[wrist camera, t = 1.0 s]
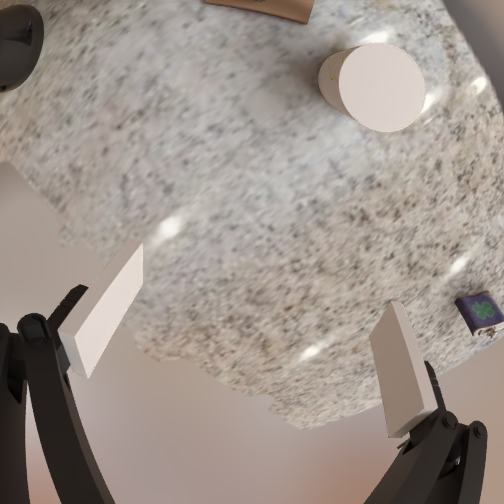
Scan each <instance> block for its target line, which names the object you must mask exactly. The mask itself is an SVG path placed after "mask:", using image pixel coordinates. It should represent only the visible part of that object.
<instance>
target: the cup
mask: <svg viewBox="0 0 504 504" xmlns="http://www.w3.org/2000/svg"><path fill="white" fill-rule="evenodd" d="M318 84H319V88H320V91H321V93H322V95H323V97H324V98H325V100H326V101H327V102H328V103H329V104H330V105H331V106H333V107H334V108H336V109H338V110H339V111H341V112H343V113H344V114H346V115H348V116H349V117H351V118H352V119H354V120H356V121H357V122H359V123H360V124H362V125H363V126H365V127H367V128H369V129H372V130H375V131H379V132H394V131H398V130H401V129H403V128H405V127H407V126H409V125H410V124H411V123H412V122H413V121H414V120H415V119H416V118H417V117H418V116H419V114H420V112H421V110H422V108H423V105H424V102H425V94H426V89H425V82H424V78H423V75H422V73H421V71H420V69H419V67H418V65H417V64H416V63H415V61H414V60H413V59H412V58H411V57H410V56H409V55H408V54H407V53H406V52H404V51H403V50H401V49H399V48H397V47H395V46H393V45H390V44H386V43H369V44H365V45H362V46H358V47H354V48H351V49H347V50H343V51H340V52H337V53H334V54H332V55H331V56H329V57H328V58H327V59H326V60H325V61H324V62H323V64H322V66H321V68H320V70H319V75H318Z"/></svg>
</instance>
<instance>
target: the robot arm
mask: <svg viewBox="0 0 504 504" xmlns="http://www.w3.org/2000/svg"><path fill="white" fill-rule="evenodd" d="M43 37H44V26H43V20H42V17H41V15H40V13H39V12H38V10H37V9H36V8H34V7H33V6H30V5H14V6H10V7H8V8H5V9H2V10H0V93H2V92H6V91H10V90H13V89H15V88H17V87H19V86H20V85H21V84H22V83H23V82H24V81H25V80H26V79H27V78H28V77H29V75H30V74H31V72H32V71H33V69H34V67H35V65H36V63H37V61H38V58H39V55H40V52H41V49H42V44H43ZM142 285H143V242H142V241H138V240H134V239H130V238H129V240H128V241H127V242H126V243H125V244H124V245H123V247H122V248H121V249H120V250H119V251H118V252H117V254H116V255H115V256H114V257H113V258H112V260H111V261H110V262H109V263H108V264H107V266H106V267H105V268H104V269H103V271H102V272H101V273H100V274H99V276H98V277H97V278H96V279H95V281H94V282H93V283H92V284H91V286H90V287H87V286H84V285H81V284H80V285H78V286H77V287H75V288H73V289H71V290H70V292H69V293H68V294H67V295H66V297H65V299H63V300H62V302H61V303H60V305H58V307H57V308H56V309H55V310H54V312H53V313H52V314H51V316H50V317H49V318H48V320H47V321H46V318H45V317H44V316H43V315H41V314H38V313H31V314H28V315H25V316H24V317H22V318H21V320H20V321H19V322H18V325H17V330H18V333H19V334H18V333H11V332H10V331H9V329H8V327H7V326H6V325H5V324H3V323H0V504H30V499H29V491H28V482H27V470H26V451H25V415H26V395H27V383H28V386H29V392H30V398H31V403H32V408H33V413H34V417H35V422H36V426H37V430H38V434H39V438H40V442H41V445H42V449H43V452H44V456H45V459H46V462H47V465H48V468H49V472H50V474H51V477H52V480H53V483H54V485H55V488H56V491H57V494H58V496H59V498H60V501H61V503H62V504H115V502H114V500H113V498H112V496H111V494H110V492H109V490H108V488H107V485H106V483H105V481H104V479H103V477H102V475H101V472H100V470H99V468H98V465H97V463H96V461H95V458H94V455H93V453H92V450H91V448H90V445H89V443H88V440H87V437H86V435H85V432H84V429H83V426H82V423H81V420H80V417H79V414H78V410H77V407H76V404H75V401H74V397H73V393H72V390H71V386H70V382H69V378H68V375H67V372H66V371H67V370H68V368H69V366H71V368H72V371H73V373H75V374H77V375H80V376H82V377H84V378H87V379H89V377H90V375H91V373H92V371H93V369H94V368H95V366H96V364H97V362H98V360H99V358H100V356H101V354H102V353H103V351H104V349H105V347H106V346H107V344H108V342H109V340H110V338H111V337H112V335H113V333H114V331H115V330H116V328H117V326H118V325H119V323H120V321H121V319H122V318H123V316H124V314H125V313H126V311H127V309H128V308H129V306H130V304H131V303H132V301H133V299H134V298H135V296H136V294H137V293H138V291H139V289H140V288H141V286H142ZM369 338H370V342H371V347H372V351H373V356H374V360H375V365H376V370H377V375H378V380H379V385H380V390H381V396H382V401H383V407H384V412H385V419H386V425H387V432H388V438H401V437H403V436H404V435H406V434H407V433H408V432H409V433H410V438H409V439H408V440H406V441H405V442H403V443H402V444H401V445H399V446H398V447H397V448H398V449H399V448H401V447H402V446H403V447H402V449H401V450H400V452H399V454H398V455H397V457H396V458H395V460H394V462H393V463H392V465H391V466H390V468H389V469H388V471H387V472H386V474H385V475H384V477H383V478H382V479H381V481H380V482H379V484H378V485H377V486H376V488H375V489H374V490H373V492H372V493H371V495H370V496H369V497H368V498H367V500H366V501H365V503H364V504H479V501H480V496H481V490H482V484H483V477H484V469H485V461H486V449H487V430H486V427H485V426H484V424H483V423H481V422H480V421H473V422H472V423H471V424H470V425H468V426H467V425H464V424H461V423H458V420H457V418H456V416H455V415H454V414H453V413H451V412H449V411H447V410H446V408H445V404H444V401H443V398H442V394H441V391H440V387H439V386H438V381H437V380H436V375H435V372H434V369H433V368H432V366H431V365H430V363H429V362H428V361H424V360H423V357H422V354H421V351H420V349H419V346H418V343H417V340H416V337H415V335H414V332H413V329H412V327H411V324H410V321H409V319H408V316H407V314H406V311H405V309H404V306H403V304H402V303H398V302H393V301H391V302H390V304H389V305H388V307H387V309H386V310H385V312H384V314H383V315H382V317H381V318H380V320H379V322H378V323H377V325H376V326H375V328H374V329H373V331H372V332H371V334H370V335H369ZM459 459H460V462H459V464H458V460H459Z"/></svg>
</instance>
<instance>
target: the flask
mask: <svg viewBox="0 0 504 504" xmlns="http://www.w3.org/2000/svg"><path fill="white" fill-rule="evenodd" d="M455 305H456V306H457V308H458V310H459V311H460V313H461V315H462V316H463V318H464V320H465V322H466V324H467V326H468V327H469V329H470V331H471V333H472V335H473V336H483V335H486V336H491V338H492V339H490V340H493V339H495V338H493V337H495V336H496V334H497V333H498V332H497V330H500V329H502V328H504V315H503V313H502V312H501V310H500V309H499V307H498V305H497V304H496V302H495V300H494V299H493V297H492V295H491V294H490V292H488V291H483V292H482V293H474V294H473V295H468V296H466V295H465V296H460V297H459V298H458V299H456V302H455Z"/></svg>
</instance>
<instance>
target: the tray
mask: <svg viewBox="0 0 504 504" xmlns="http://www.w3.org/2000/svg"><path fill="white" fill-rule="evenodd" d="M314 1H315V0H206V1H205V2H206V3H207V4H213V5H220V6H227V7H233V8H239V9H244V10H250V11H255V12H260V13H264V14H269V15H273V16H277V17H281V18H285V19H289V20H292V21H296V22H300V23H303V24H306V25H307V23H308V21H309V17H310V14H311V11H312V8H313V5H314Z"/></svg>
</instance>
